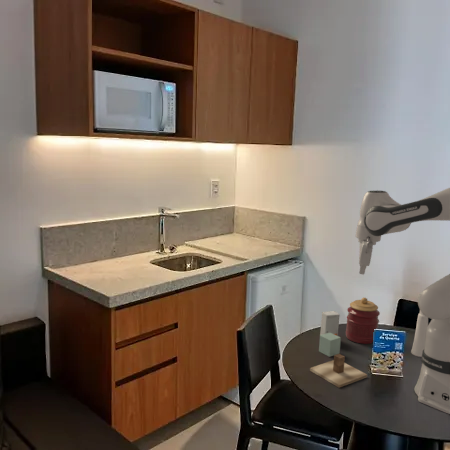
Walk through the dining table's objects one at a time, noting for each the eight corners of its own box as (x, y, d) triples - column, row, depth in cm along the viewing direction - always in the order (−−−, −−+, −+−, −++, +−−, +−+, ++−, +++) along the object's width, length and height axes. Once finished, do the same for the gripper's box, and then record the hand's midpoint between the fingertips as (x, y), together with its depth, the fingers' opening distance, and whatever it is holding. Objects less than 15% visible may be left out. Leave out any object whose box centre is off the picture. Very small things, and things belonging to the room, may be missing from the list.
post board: (366, 377, 170) (368, 359, 169) (339, 387, 162) (340, 368, 161) (337, 361, 181) (338, 344, 180) (309, 370, 174) (310, 352, 172)
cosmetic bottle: (430, 354, 190) (436, 300, 186) (422, 358, 186) (428, 304, 182) (415, 349, 194) (421, 296, 190) (407, 353, 190) (413, 299, 186)
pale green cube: (339, 353, 188) (340, 337, 187) (329, 356, 185) (330, 340, 184) (329, 348, 192) (330, 332, 191) (318, 351, 189) (319, 335, 188)
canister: (353, 345, 196) (357, 303, 192) (340, 332, 208) (343, 293, 205) (383, 343, 198) (387, 302, 195) (367, 330, 211) (371, 292, 208)
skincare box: (324, 343, 197) (326, 315, 195) (319, 339, 201) (321, 311, 199) (337, 342, 198) (340, 314, 196) (332, 337, 202) (334, 310, 200)
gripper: (378, 242, 165) (370, 280, 168) (376, 228, 184) (370, 263, 187) (359, 239, 166) (352, 277, 170) (359, 226, 185) (353, 260, 189)
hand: (361, 269), depth 179 cm, fingers open, 8 cm apart
